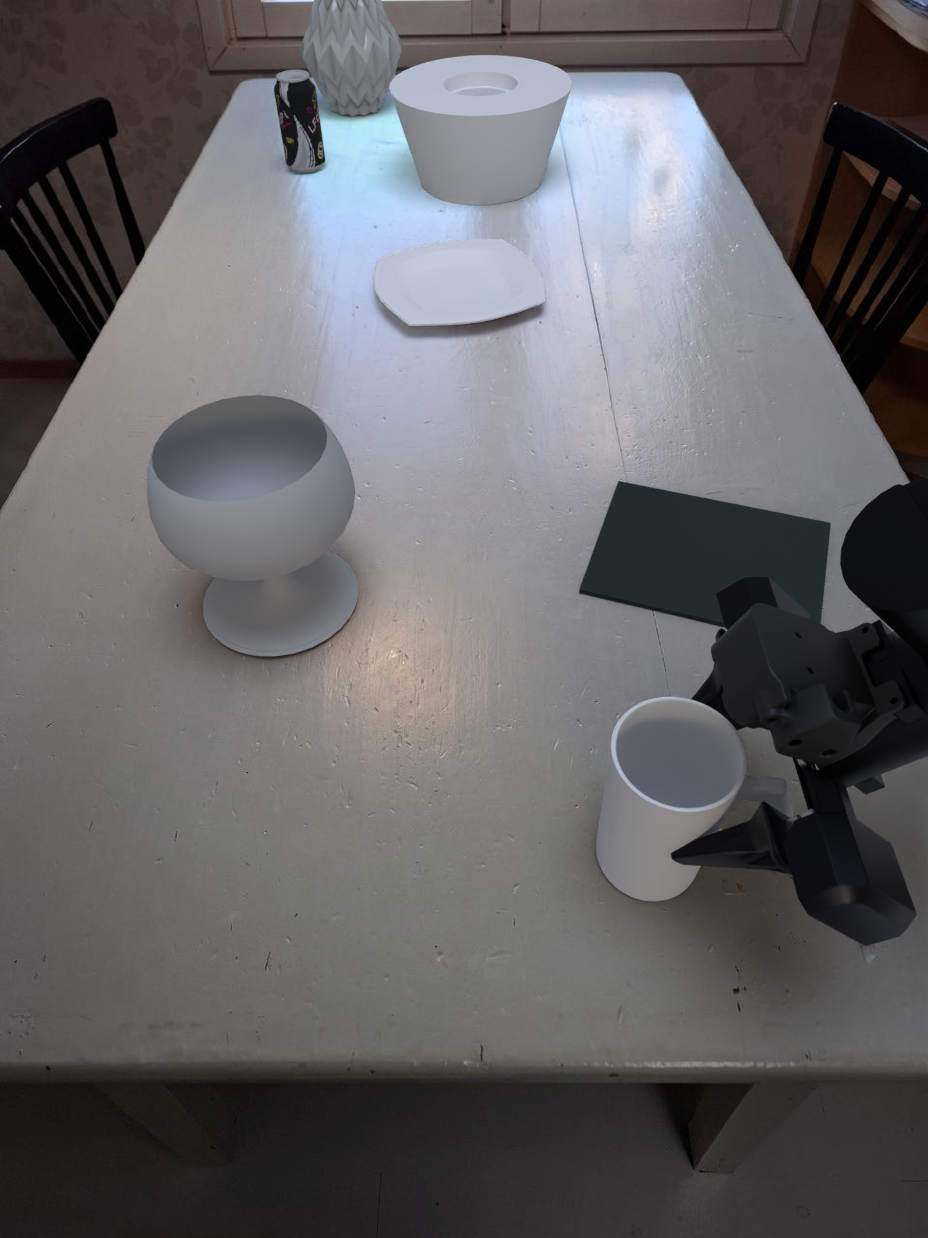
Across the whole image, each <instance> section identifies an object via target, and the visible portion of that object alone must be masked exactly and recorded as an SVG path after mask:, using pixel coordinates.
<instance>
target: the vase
mask: <svg viewBox="0 0 928 1238" xmlns="http://www.w3.org/2000/svg"><path fill="white" fill-rule="evenodd" d="M402 49H403V42H402V40H401V38H400V36H399V34H398V32H397V31H396V29H395V27H394V26H393V25H392V23H391V21H390V18H389V16H388V13H387V11H386V8H385V6H384V4H383V1H382V0H313V2H312V5H311V10H310V14H309V20H308V25H307V28H306V30H305V34H304V35H303V38H302V42H301V45H300V48H299V54H300V55H301V57H302V60H303V62H304V64H305V67H306V68H307V71H308V73H309V75H310V76H312V79H313V80H314V81H313V82H314V84H315V86H316V87H317V89H318V91H319V93H320V95H321V97H322V98H324V99H326V100H327V102H328V103H329V105H330V108H331V110H332V113H337V114H338V113H339V114H340V115H341V116H348V115H349V116H351V117H356V116H358V115H360V116H366V115H369V114H375V113H378V111H379V110H382V109H383V108H384V104H385V98H386V97H387V95H388V94H389V93H390V90H389V86H390V82H391V81H392V80H393V79H394V77H395V76H396V72H397V69H398V66H399V64H400V60H401V57H402V54H403V51H402Z"/></svg>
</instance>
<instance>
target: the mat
mask: <svg viewBox="0 0 928 1238" xmlns="http://www.w3.org/2000/svg"><path fill="white" fill-rule="evenodd" d="M831 525H832V523H831V522H828V521H824V520H819V519H815V518H809V517H804V516H798V515H793V514H788V513H783V512H778V511H774V510H768V509H765V508H764V509H763V508H758V507H753V506H748V505H744V504H743V505H742V504H738V503H731V502H728V501H723V500H718V499H712V498H707V497H703V496H698V495H693V494H688V493H684V492H683V493H682V492H677V491H672V490H668V489H662V488H658V487H651V486H647V485H642V484H636V483H632V482H627V481H621V480H618V481H617V483H616V487H615V489H614V491H613V495H612V498H611V501H610V504H609V506H608V509H607V512H606V514H605V517H604V520H603V523H602V525H601V529H600V531H599V533H598V536H597V540H596V542H595V545H594V548H593V551H592V553H591V556H590V559H589V561H588V565H587V568H586V570H585V573H584V575H583V578H582V581H581V584H580V587H579V589H578V593H579V594H582V595H587V596H591V597H596V598H600V599H604V600H608V601H613V602H617V603H622V604H625V605H630V606H635V607H638V608H643V609H647V610H652V611H656V612H661V613H665V614H669V615H674V616H678V617H682V618H686V619H690V620H695V621H699V622H704V623H708V624H713V625H715V626H716V625H717V626H719V627H720V626H721V627H725V625H724V622H723V618H722V614H721V611H720V607H719V603H718V600H717V596H716V593H717V592H719V591H720V590H722V589H724V588H725V587H727V586H729V585H730V584H732V583H734V582H736V581H737V580H739V579H741V578H743V577H755V576H763V577H769V578H770V579H771V580H772V581H773V582H775V583H776V584H777V585H778V586H779V587H780V588H781V589H782V590H783V591H785V592H786V593H787V594H788V595H789V596H790V597H791V598H792V599H793V600H794V601H796V602H797V603H798V604H799V605H800V606H801V607H802V608H803V609H804V610H805V611H807V612H808V613H809V616H810V619H811V620H814V621H817V622H819V623H820V624H822V615H823V605H824V596H825V595H824V594H825V585H826V575H827V574H826V573H827V564H828V556H829V545H830V535H831V527H832V526H831Z"/></svg>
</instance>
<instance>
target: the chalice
mask: <svg viewBox="0 0 928 1238" xmlns="http://www.w3.org/2000/svg"><path fill="white" fill-rule="evenodd" d="M146 470H147V472H146V497H147V506H148V511H149V516H150V520H151V523H152V525H153V527H154V530H155V532H156V533H155V534H157V537H158V539H159V541H160V543H161V544H162V545H163V546H164V548H165V549H166V550H167V551H168V552H169V553H170V554H171V555H172V556H173V557H174V558H175V559H176V560H178V561H179V562H181V563H182V564H183V565H185V567H188V568H189V569H191V570H193V571H196V572H199V573H201V574H203V575H206V576H209V577H212V578H213V580H211V581H212V582H211V583H210V585H209V586H208V588H207V589H206V592H205V595H204V598H203V602H202V615H203V619H204V623H205V626H206V628H207V629H208V630H209V632H210V634H211V635H212V636H213V637H214V638H215V639H216V640H217V641H218V642H219V643H221V644H222V645H223V646H225V647H226V648H229V649H231V650H233V651H236V652H238V653H241V654H246V655H250V656H255V657H280V656H287V655H294V654H296V653H301V652H302V651H306V650H309V649H311V648H313V647H315V646H317V645H319V644H321V643H323V642H324V641H327V640H328V639H330V638H331V637H332V636H333V635H335V634H336V633H337V632H338V631H340V629H342V628H343V626H344V625H345V624H346V623H347V622H348V620H349V619H350V618H351V617H352V614H353V612H354V610H355V608H356V606H357V603H358V598H359V593H360V591H359V584H358V578H357V576H356V574H355V572H354V570H353V568H352V567H351V565H349V563H348V562H347V561H346V560H345V559H344V558H343V557H341V556H340V555H338V554H336V553H335V552H334V551H332V550H330V548H331V547H333V545H334V544H335V543H336V542H337V540H338V539H339V538H340V537H341V536H342V535H343V534H344V532H345V530H346V528H347V525H348V524H349V522H350V519H351V517H352V514H353V510H354V507H355V498H356V488H355V480H354V476H353V472H352V469H351V466H350V462H349V459H348V457H347V454H346V452H345V450H344V448H343V446H342V444H341V442H340V440H339V439H338V438H337V436H336V434H335V433H334V432H333V430H332V428H330V426H329V424H327V422H325V420H324V419H323V418H322V417H321V416H320V415H319V414H317V413H316V412H315V411H313V410H312V409H311V408H310V407H308V406H307V405H304V404H302V403H300V402H297V401H295V400H293V399H289V398H285V397H282V396H281V397H280V396H275V395H262V394H254V395H239V396H233V397H227V398H221V399H218V400H215V401H212V402H209V403H205V404H204V405H201V406H199V407H197V408H195V409H192V410H190V411H188V412H186V413H185V414H184V415H182V416H180V417H179V418H177V419H176V420H174V421H173V422H172V423H171V424H170V425H169V426H167V428H166V429H164V431H162V434H161V435H160V436H159V437H158V439H157V440H156V442H155V443H154V446H153V449H152V452H151V454H150V458H149V461H148V465H147V469H146Z"/></svg>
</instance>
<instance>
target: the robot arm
mask: <svg viewBox="0 0 928 1238" xmlns="http://www.w3.org/2000/svg"><path fill="white" fill-rule="evenodd" d="M839 559H840V560H839V563H840V564H839V565H840V570H841V575H842V579H843V581H844V584H845V585H846V587H847V588H848V589H849V591H850V592H851V593H852V594H853V595H855V597H857V599H858V600H859V601H860V602H861V603H862V604H864V605H865V606H866V607H867V608H868V609H869V610H871V611H872V612H873V614H875V615H876V616H877V617H878V618H879V619H877V620H875V621H873V622H863V623H861V624H859V625H857V626H854V627H853V628H850V629H847V630H841V631H838V632H835V631H832V630H830V629H829V628H827V626H825V625H824V624H822V623H821V624H820V623H819V622H817V621H814V620H811V619H810V616H809V613H808V612H807V611H805V610H804V609H803V608H802V607H801V606H800V605H799V604H798V603H797V602H796V601H794V600H793V599H792V598H791V597H790V596H789V595H788V594H787V593H786V592H785V591H783V590H782V589H781V588H780V587H779V586H778V585H777V584H776V583H775V582H773V581H772V580H771V579H770V578H769V577H763V576H755V577H743V578H741V579H739V580H737V581H736V582H734V583H732V584H730V585H729V586H727V587H725V588H724V589H722V590H720V591H719V592H717V593H716V596H717V600H718V603H719V607H720V611H721V614H722V618H723V622H724V625H725V626H724V628H722V627H720V628H719V629H718V630H717V631H716V634H715V642H714V643H712V645H711V647H710V654H711V658H712V661H713V667H712V670H711V672H710V674H709V675H708V677H707V678H706V680H704V682H703V683H702V684H701V686H700V687H699V688H698V690H697V691H696V692H695V693H694V695H693V696H691V698H690V699H691V700H694V701H697V702H700V703H703V704H705V705H707V706H709V707H711V708H712V709H714V710H716V711H717V712H719V713H720V714H721V715H723V716H724V717H725V718H726V719H727V720H728V721H729V722H730V723H731V724H732V725H733V726H734V727H735V729H736V730H737V731H740V730H742V729H745V728H749V729H751V730H755V729H762V730H763V729H764V730H767V731H769V732H770V735H771V739H772V741H773V742H772V743H773V746H774V750H775V752H776V753H777V754H779V755H781V756H786V757H788V758H792V762H793V764H794V768H795V771H796V775H797V778H798V781H799V785H800V787H801V791H802V795H803V798H804V801H805V805H806V808H807V809H806V810H804V811H801V812H799V813H798V814H796V815H793V817H790V818H789V817H788V816H786V815H785V814H783V813H782V812H780V811H779V810H777V809H776V808H774V807H772V806H771V805H769V804H768V803H766V802H765V801H764V802H762V803H761V804H760V803H759V806H758V807H757V809H756V810H755V811H754V813H753V814H752V816H751V818H749V819H748V820H746V821H743V822H740V823H737V824H734V825H732V826H729V827H727V828H723V829H724V830H721V831H718V832H715V833H712V834H710V835H707V836H704V837H701V838H698V839H695V840H693V841H691V842H689V843H688V844H686V845H684V846H683V847H681V848H679V849H677V850H675V851H674V852H672V853H671V859H672V860H673V861H675V862H677V863H679V864H682V865H692V866H701V867H710V868H724V869H725V868H726V869H739V870H740V869H741V870H754V871H755V870H757V871H766V872H774V873H779V874H785V875H790V876H791V878H792V881H793V885H794V889H795V893H796V896H797V899H798V901H799V902H800V904H801V906H802V908H803V909H804V910H805V912H806V914H807V915H808V916H809V917H811V918H813V920H816V921H818V922H820V923H822V924H823V925H825V926H827V927H829V928H831V929H833V930H835V931H837V932H838V933H840V934H842V935H844V936H846V937H847V938H850V939H851V940H853V941H855V942H857V943H859V944H861V945H862V946H864V947H868V946H872V945H874V944H878V943H881V942H885V941H889V940H892V939H896V938H900V937H901V935H903V933H905V932H906V931H907V929H908V928H909V927H910V925H911V924H912V923H913V921H914V920H915V918H916V917H917V916H918V913H917V911H916V907H915V905H914V902H913V900H912V897H911V893H910V891H909V888H908V885H907V883H906V880H905V877H904V875H903V872H902V868H901V866H900V863H899V860H898V857H897V855H896V852H895V849H894V847H893V843H891V842H890V841H888V840H887V839H886V838H885V837H883V836H882V835H880V834H878V833H877V832H876V831H874V830H873V829H871V828H870V827H869V826H867V825H866V824H864V822H861V821H860V820H858V819H857V816H856V813H855V810H854V807H853V804H852V801H851V798H850V795H849V793H848V790H847V789H848V788H850V787H852V786H853V787H855V788H856V789H857V790H859V791H860V792H861V793H862V794H864V795H865V796H868V795H869V794H872V793H874V792H877V791H880V790H883V789H885V788H886V784H885V782H884V779H883V777H882V775H883V774H886V773H888V772H890V771H893V770H896V769H899V768H901V767H904V766H906V765H909V764H911V763H914V762H917V761H919V760H921V759H924V758H926V757H928V477H926V478H919V479H916V480H913V481H911V482H908V483H905V484H901V483H897V484H894V485H892V486H891V487H889V488H887V489H886V490H884V491H882V492H881V493H879V494H878V495H877V496H876V497H874V498H873V499H872V500H871V501H869V502H868V503H867V504H866V505H865V506H864V507H863V508H862V509H861V510H860V512H859V513H858V514H857V515H856V517H854V519H853V521H852V522H851V524H850V526H849V527H848V529H847V531H846V533H845V535H844V538H843V542H842V544H841V548H840V558H839Z"/></svg>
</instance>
